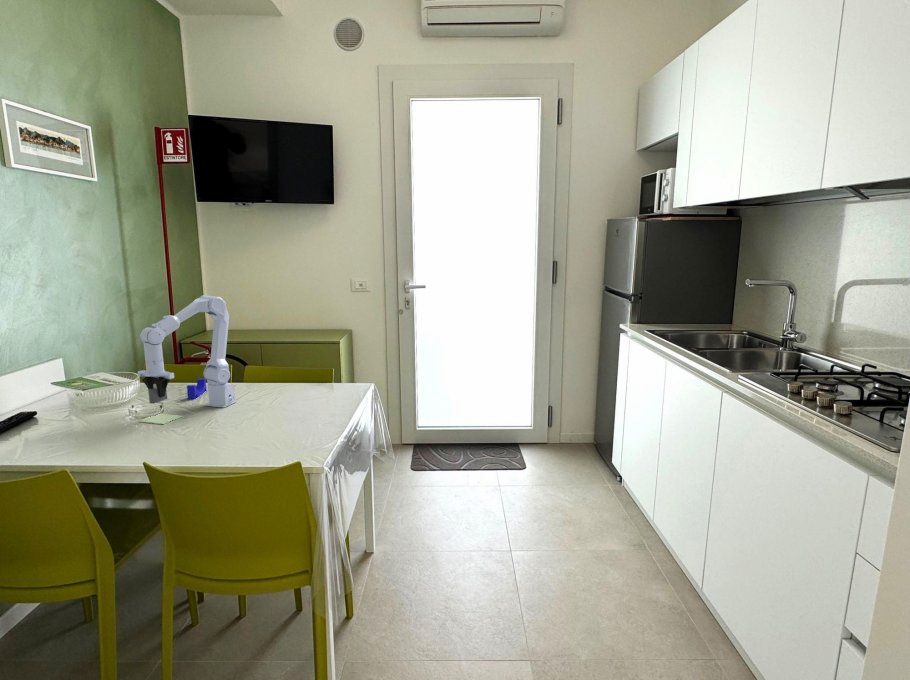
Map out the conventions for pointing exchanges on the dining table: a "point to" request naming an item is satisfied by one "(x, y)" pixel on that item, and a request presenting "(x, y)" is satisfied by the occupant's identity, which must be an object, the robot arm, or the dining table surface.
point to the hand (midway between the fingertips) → (158, 396)
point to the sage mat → (160, 419)
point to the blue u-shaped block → (196, 389)
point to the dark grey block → (155, 395)
